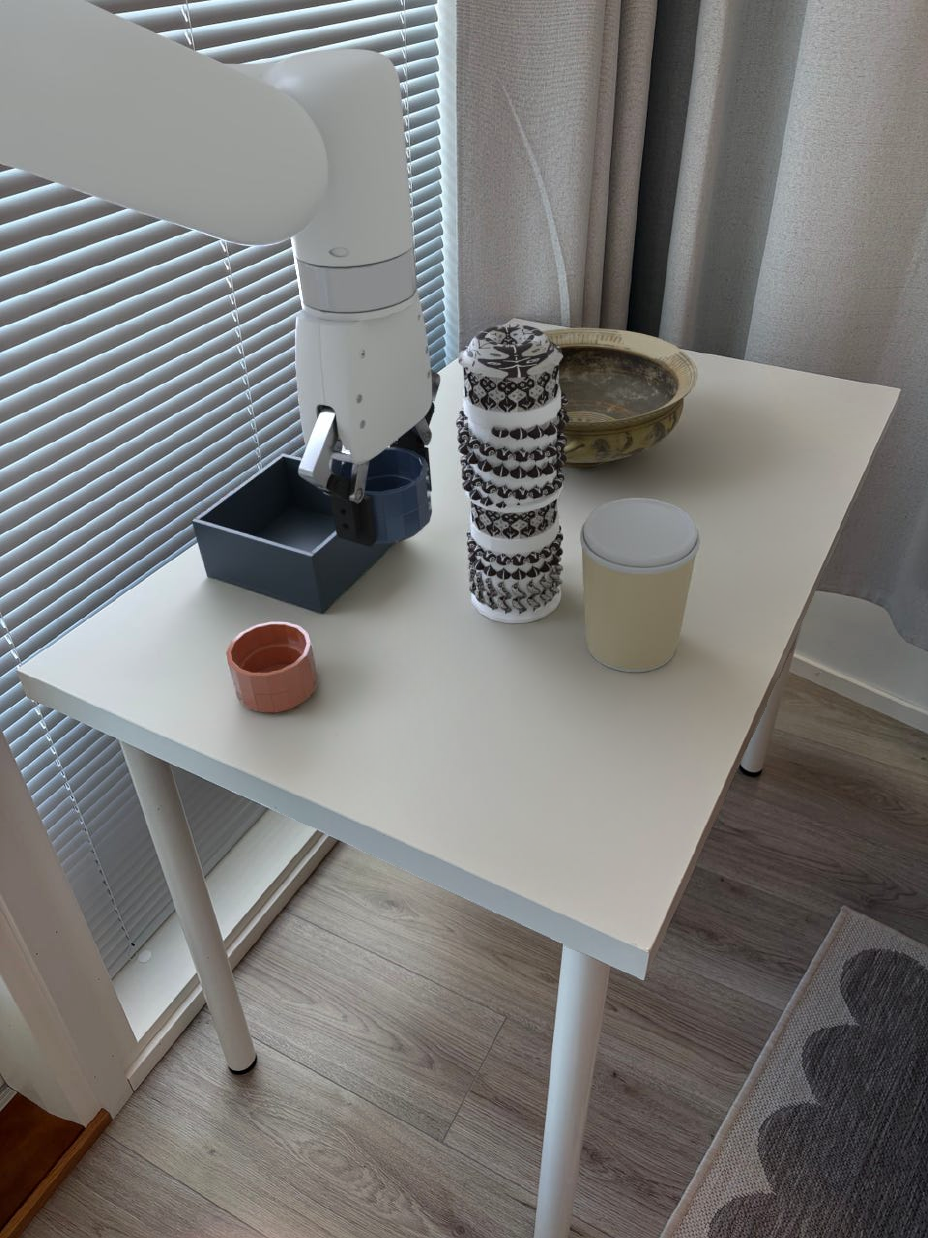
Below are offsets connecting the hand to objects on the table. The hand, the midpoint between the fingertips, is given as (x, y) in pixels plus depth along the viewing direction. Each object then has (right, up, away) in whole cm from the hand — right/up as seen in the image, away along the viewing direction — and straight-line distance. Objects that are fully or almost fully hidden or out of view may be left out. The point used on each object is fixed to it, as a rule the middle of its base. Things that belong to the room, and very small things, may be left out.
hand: (385, 513), depth 71 cm
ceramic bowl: (+19, +11, +37) cm, 44 cm away
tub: (-10, -2, +24) cm, 26 cm away
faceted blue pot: (0, -1, 0) cm, 1 cm away
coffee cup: (+20, -10, +11) cm, 25 cm away
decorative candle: (+11, -6, +17) cm, 21 cm away
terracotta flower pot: (-10, -14, +9) cm, 19 cm away
